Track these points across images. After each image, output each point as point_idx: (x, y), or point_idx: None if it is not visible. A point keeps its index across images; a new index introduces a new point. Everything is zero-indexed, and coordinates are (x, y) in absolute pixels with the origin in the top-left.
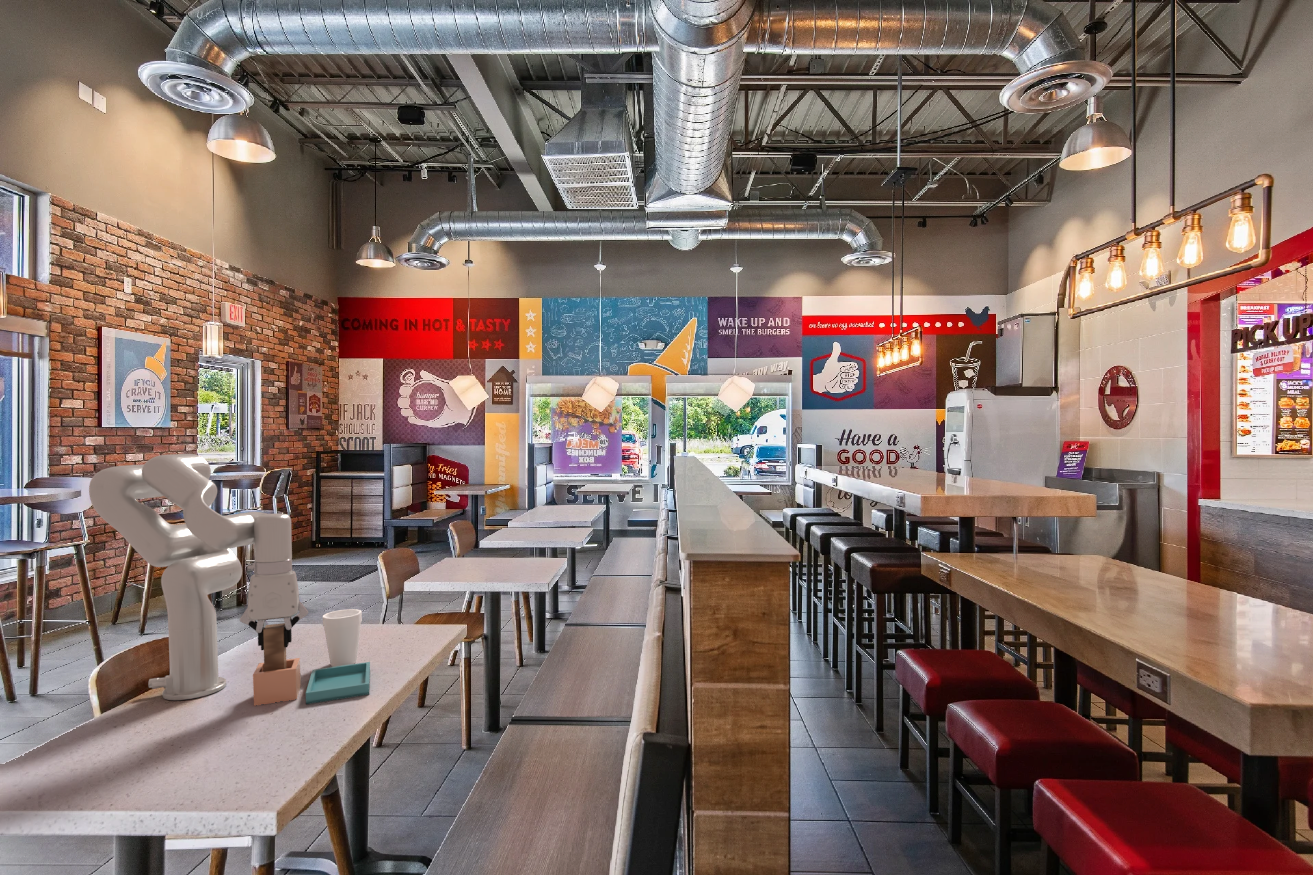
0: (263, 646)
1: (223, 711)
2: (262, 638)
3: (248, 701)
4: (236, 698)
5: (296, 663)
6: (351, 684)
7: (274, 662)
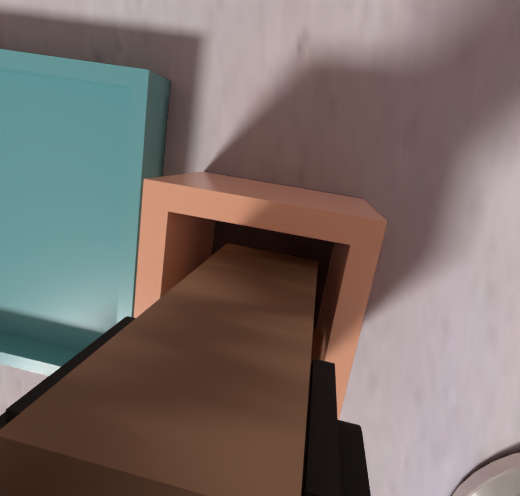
0: (312, 372)
1: (484, 207)
2: (319, 431)
3: (379, 273)
4: (418, 342)
5: (142, 286)
6: (5, 191)
7: (251, 282)
